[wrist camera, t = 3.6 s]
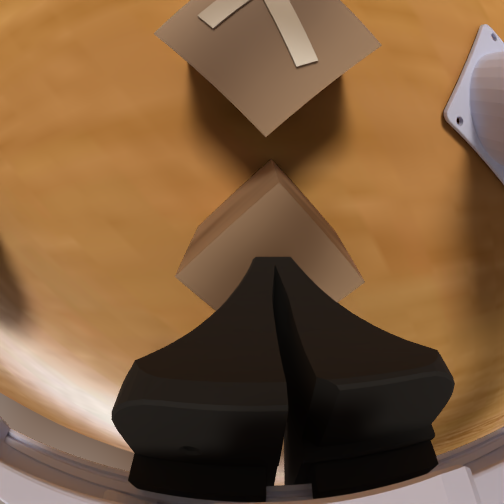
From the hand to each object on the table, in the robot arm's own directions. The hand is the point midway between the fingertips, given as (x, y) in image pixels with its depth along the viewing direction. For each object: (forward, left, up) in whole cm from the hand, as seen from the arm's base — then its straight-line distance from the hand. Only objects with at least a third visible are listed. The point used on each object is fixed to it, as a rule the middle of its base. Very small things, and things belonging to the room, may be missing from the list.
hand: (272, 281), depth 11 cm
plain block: (0, 0, -5) cm, 5 cm away
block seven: (+4, -8, -5) cm, 10 cm away
